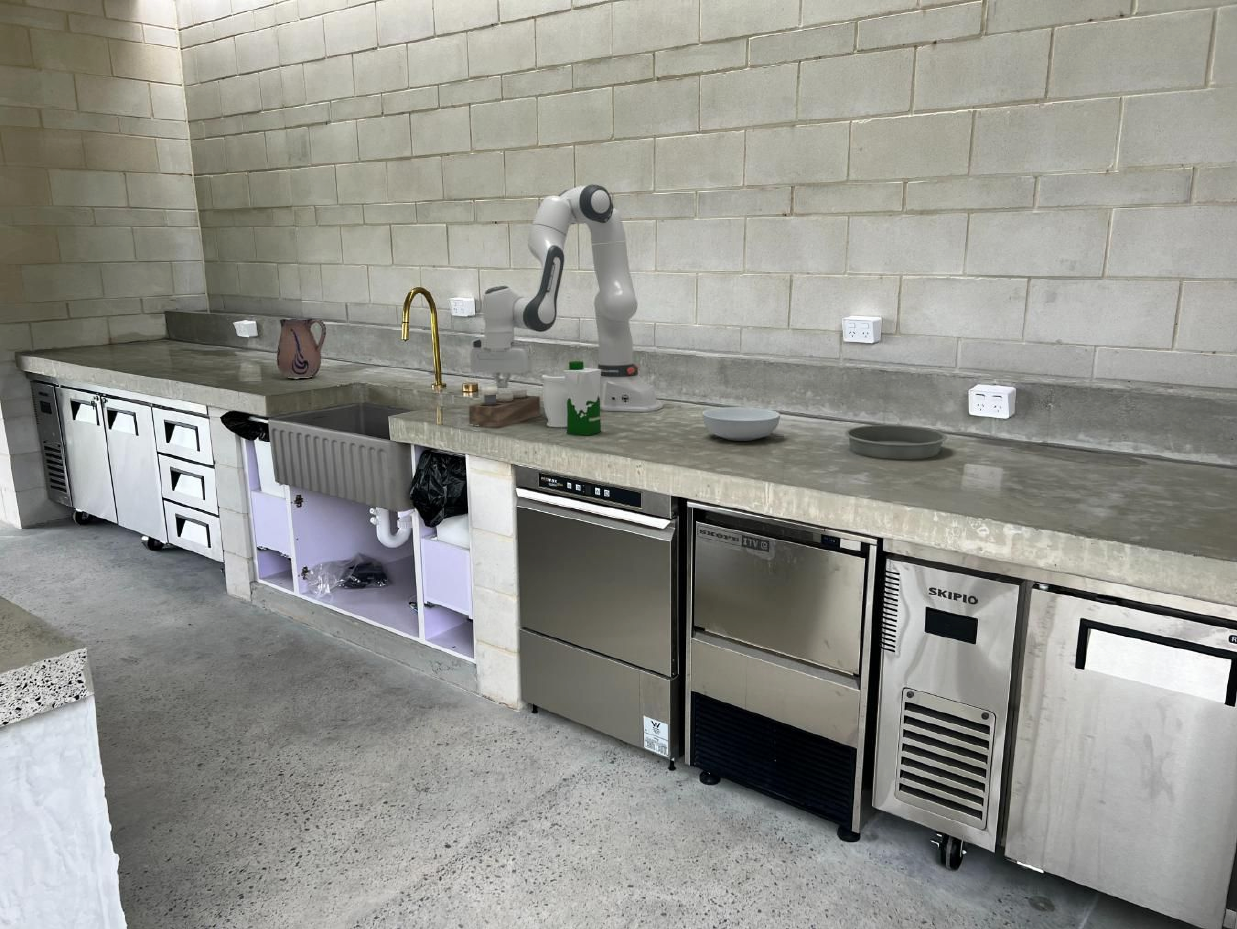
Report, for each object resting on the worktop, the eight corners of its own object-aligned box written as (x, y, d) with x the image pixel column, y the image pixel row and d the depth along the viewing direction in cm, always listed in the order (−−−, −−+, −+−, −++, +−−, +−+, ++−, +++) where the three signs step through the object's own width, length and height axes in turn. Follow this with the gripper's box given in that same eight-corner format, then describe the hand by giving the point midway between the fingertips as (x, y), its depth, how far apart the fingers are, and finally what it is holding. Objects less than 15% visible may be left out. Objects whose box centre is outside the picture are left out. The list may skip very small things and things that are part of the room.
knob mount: (540, 415, 293) (539, 396, 292) (498, 428, 272) (497, 407, 271) (513, 413, 297) (512, 394, 296) (469, 425, 276) (468, 405, 275)
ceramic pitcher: (284, 376, 400) (278, 317, 395) (334, 375, 402) (329, 316, 397) (274, 381, 383) (268, 320, 378) (326, 380, 385) (321, 319, 380)
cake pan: (837, 458, 227) (838, 439, 226) (851, 439, 250) (851, 422, 249) (944, 464, 219) (945, 445, 218) (947, 444, 241) (948, 427, 240)
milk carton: (579, 429, 269) (578, 359, 264) (606, 431, 264) (604, 361, 260) (562, 434, 262) (560, 363, 257) (588, 436, 257) (587, 364, 252)
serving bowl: (726, 448, 240) (727, 422, 238) (688, 434, 258) (688, 410, 257) (794, 441, 248) (795, 415, 246) (753, 428, 266) (753, 404, 265)
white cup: (551, 429, 268) (550, 378, 265) (537, 424, 277) (536, 374, 274) (584, 426, 273) (583, 375, 270) (570, 421, 282) (569, 371, 279)
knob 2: (530, 410, 292) (529, 389, 291) (522, 412, 288) (521, 391, 287) (517, 409, 294) (516, 388, 293) (509, 411, 290) (508, 391, 289)
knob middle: (516, 414, 285) (515, 393, 284) (508, 416, 281) (507, 395, 280) (503, 413, 287) (502, 392, 286) (494, 415, 283) (493, 394, 282)
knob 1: (501, 408, 278) (501, 386, 276) (492, 410, 273) (492, 388, 272) (488, 407, 280) (487, 385, 278) (479, 409, 275) (478, 387, 274)
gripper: (535, 341, 276) (537, 387, 279) (477, 340, 285) (480, 384, 288) (523, 343, 271) (526, 390, 274) (465, 342, 279) (468, 387, 283)
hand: (502, 387), depth 281 cm, fingers closed
